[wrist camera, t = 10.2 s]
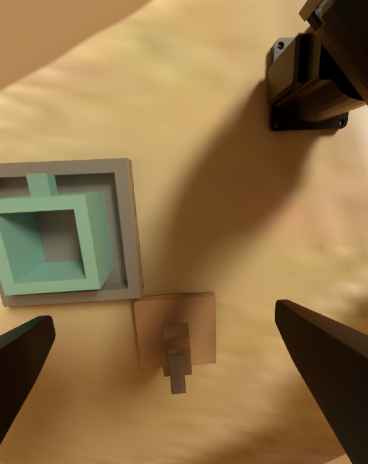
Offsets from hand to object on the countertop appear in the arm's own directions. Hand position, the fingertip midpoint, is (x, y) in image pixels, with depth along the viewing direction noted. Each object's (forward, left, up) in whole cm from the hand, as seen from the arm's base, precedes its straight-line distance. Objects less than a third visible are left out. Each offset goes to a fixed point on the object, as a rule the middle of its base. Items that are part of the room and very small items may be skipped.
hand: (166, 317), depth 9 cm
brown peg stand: (0, +10, -12) cm, 16 cm away
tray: (+9, -1, -12) cm, 15 cm away
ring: (+9, -1, -11) cm, 14 cm away
